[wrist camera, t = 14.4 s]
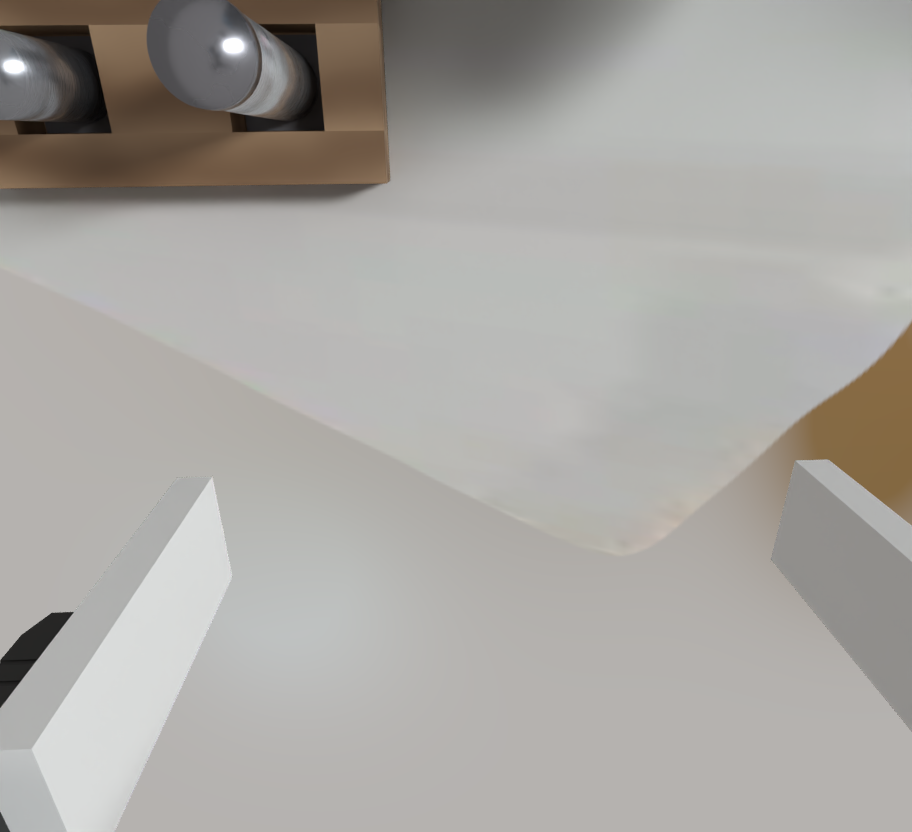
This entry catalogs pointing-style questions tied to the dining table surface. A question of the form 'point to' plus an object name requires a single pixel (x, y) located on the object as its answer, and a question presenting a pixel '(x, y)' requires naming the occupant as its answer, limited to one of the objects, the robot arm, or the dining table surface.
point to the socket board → (199, 130)
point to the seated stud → (48, 81)
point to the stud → (227, 61)
